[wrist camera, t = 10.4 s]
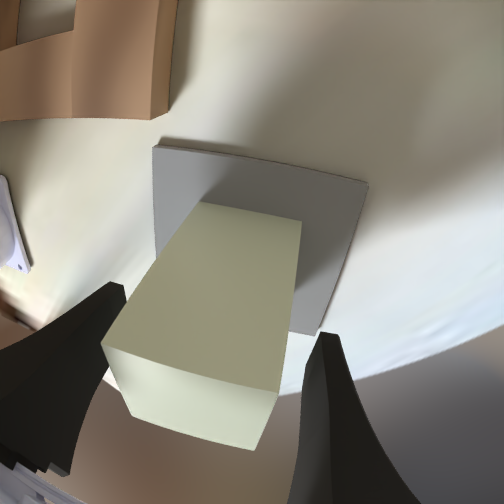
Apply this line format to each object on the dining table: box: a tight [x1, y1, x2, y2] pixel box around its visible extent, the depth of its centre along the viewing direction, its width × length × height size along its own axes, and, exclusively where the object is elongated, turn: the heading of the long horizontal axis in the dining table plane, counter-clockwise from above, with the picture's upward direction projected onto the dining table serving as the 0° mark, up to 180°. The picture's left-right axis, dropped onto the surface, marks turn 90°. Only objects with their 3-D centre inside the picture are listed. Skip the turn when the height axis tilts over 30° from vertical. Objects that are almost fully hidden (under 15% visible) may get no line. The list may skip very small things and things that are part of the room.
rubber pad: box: [152, 145, 369, 336], centre depth 15 cm, size 9×9×1 cm
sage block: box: [101, 201, 302, 450], centre depth 11 cm, size 4×4×8 cm
